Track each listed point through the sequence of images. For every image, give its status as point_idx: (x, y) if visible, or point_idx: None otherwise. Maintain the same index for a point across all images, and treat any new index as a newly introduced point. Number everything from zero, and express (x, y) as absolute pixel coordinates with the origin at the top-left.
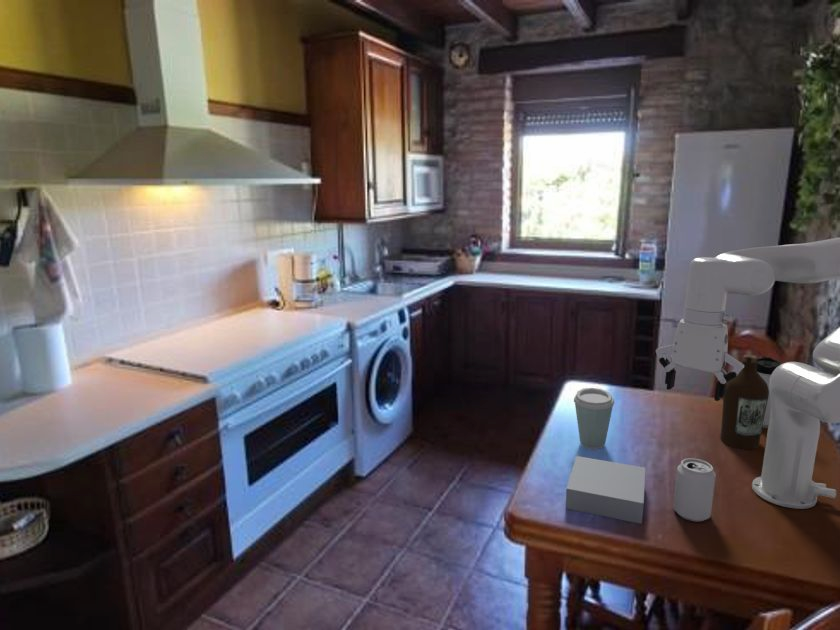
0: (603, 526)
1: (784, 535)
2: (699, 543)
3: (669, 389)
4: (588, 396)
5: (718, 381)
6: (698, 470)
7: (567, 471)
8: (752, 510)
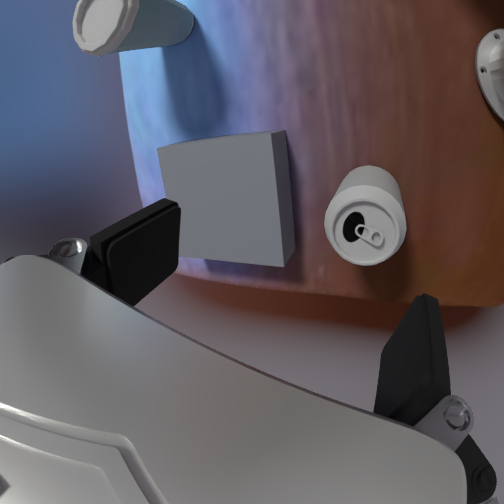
0: (249, 268)
1: (496, 218)
2: (374, 273)
3: (175, 258)
4: (91, 18)
5: (395, 410)
6: (366, 246)
7: (168, 139)
8: (470, 151)
